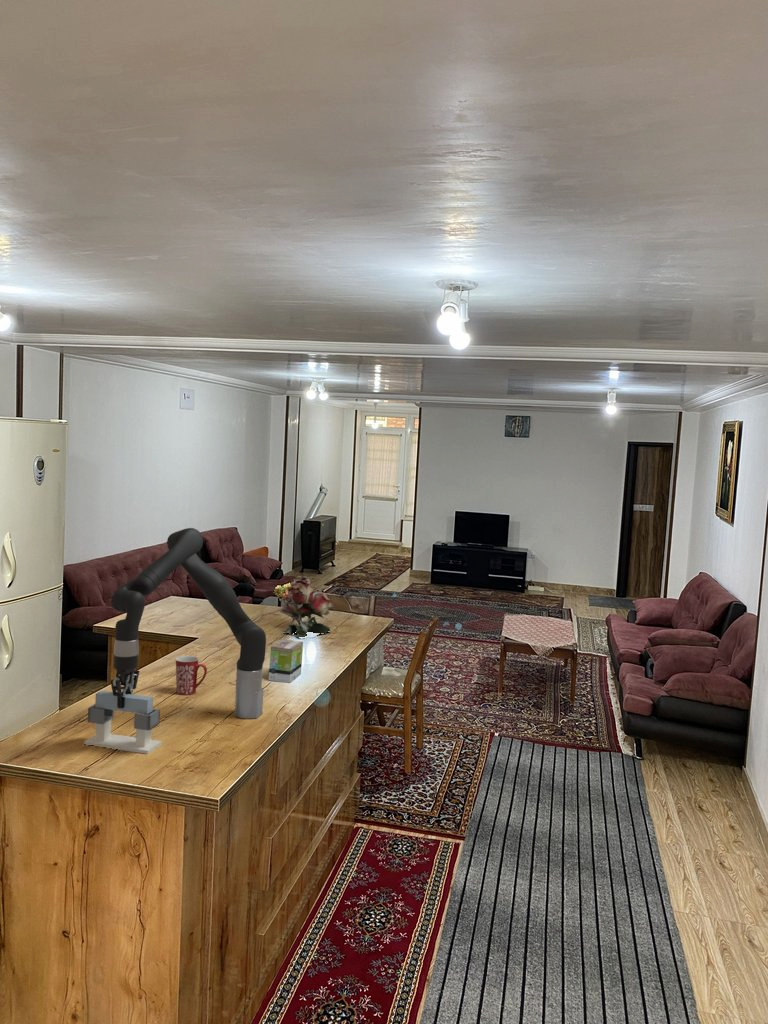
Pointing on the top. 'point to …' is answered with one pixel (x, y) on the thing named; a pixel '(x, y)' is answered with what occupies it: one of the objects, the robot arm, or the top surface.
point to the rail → (131, 702)
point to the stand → (126, 743)
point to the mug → (188, 674)
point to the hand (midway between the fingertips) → (124, 705)
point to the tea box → (285, 660)
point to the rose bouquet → (305, 607)
